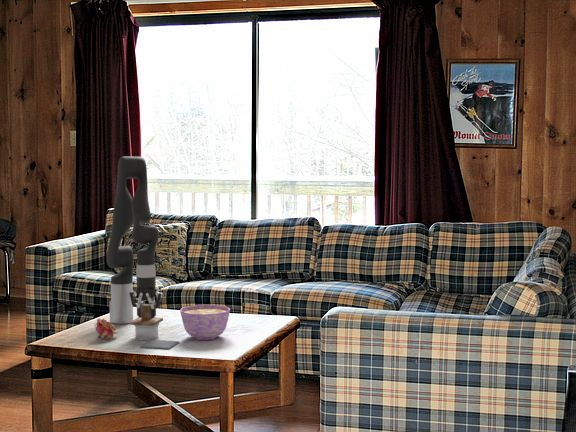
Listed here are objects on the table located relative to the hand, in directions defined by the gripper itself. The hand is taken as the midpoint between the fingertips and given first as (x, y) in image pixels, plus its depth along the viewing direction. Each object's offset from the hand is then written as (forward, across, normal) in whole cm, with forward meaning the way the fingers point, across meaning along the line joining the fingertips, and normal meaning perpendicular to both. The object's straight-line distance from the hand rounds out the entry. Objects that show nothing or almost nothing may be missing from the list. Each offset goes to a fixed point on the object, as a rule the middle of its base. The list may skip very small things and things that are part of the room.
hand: (146, 317), depth 335 cm
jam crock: (+8, 0, 0) cm, 8 cm away
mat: (+8, +10, -11) cm, 17 cm away
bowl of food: (+8, +23, +5) cm, 25 cm away
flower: (+8, -15, -5) cm, 18 cm away
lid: (+2, 0, 0) cm, 2 cm away
